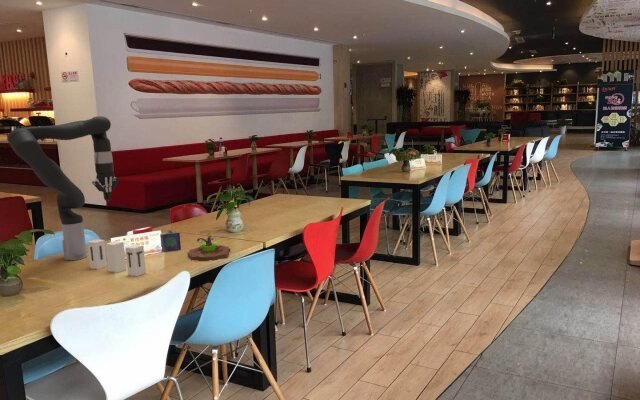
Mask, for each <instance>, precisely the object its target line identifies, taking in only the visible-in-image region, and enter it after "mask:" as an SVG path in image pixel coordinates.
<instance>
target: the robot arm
mask: <svg viewBox="0 0 640 400" xmlns="http://www.w3.org/2000/svg"><path fill="white" fill-rule="evenodd" d="M111 126H112V123H111V121H110V119H109V118H107V117H106V116H102V115H101V116H99V115H98V116H93V117H91V118H89V119H85V120H84V119H83V120H78V121H77V120H75V121H73V122H72V121H70V122H67V123H62V124H56V125H46V126H45V125H44V126H43V125H41V126H32V127H31V126H30V127H29V126H28V127H26V126H25V127H21V128H20V127H19V128H15V129H13V130H11V131H9V133H8V134H7V138H6V139H7V143H8V144H9V146H10V147H11V149H12V151H13V152H14V153H15V154H16V155H17V156H18V157H20V159H22V160H23V161H24V162H25V163H26V164H28V165H29V167H30V168H31V170H32V171H33V172H34V174H35V175H36V177H38V179H39V180H40V181H41V182H42V183H43V184H44V185H45V186H46V187H48V188H51V189H52V190H55V191H57V193H56V204H57V210H58V215H59V216H58V217H59V219H60V223H61V229H62V237H63V239H62V240H61V241H62V251H63V257H64V258H63V259H64V261H77V260H82V259H85V258H87V257H88V254H87V253H88V251H87V245H86V243H87V242H86V235H85V227H84V219H83V216H82V214H78V213H76V212H74V211H73V210H72V209H80V208H82V207H83V206H84V205H85V202H86V199H85V195H84V192H83V191H82V190H81V189H80V188H79V187H78V185H76V184H75V183H74V182H72V180H71V179H70V178H69V177H68V176H67V174H65V172H64V171H63V169H62V168H61V167H60V166H59V165H58V164H57V163H56V162H55V161H54V160H53V159H51V158H50V157H49V156H47V155H46V154H45V151H44V150H43V149H42V147H41V145H40V143H39V142H38V141H39V140H58V141H72V140H76V139H79V138H84V137H86V136H91V138H92V139H91V140H92V142H93V143H92V144H93V153H94V154H93V158H94V168H95V174H96V177H95V180H92V182H91V184H92V185H94V187H95V188H96V189H97V190H98V192H101V193H102V194H103V199H104V201H107V202H109V201H111V199H112V191H114V190H115V188H116V187H117V185H118V183H119V181H120V179H119V178H118V177H116V176H115V174H114V172H115V171H114V170H115V169H114V160H113V154H112V147H111V146H112V145H111V141H110V139H109V137H108V136H107V132H108V131H109V130H110V129H111Z"/></svg>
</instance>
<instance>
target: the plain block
mask: <svg viewBox="0 0 640 400" xmlns="http://www.w3.org/2000/svg"><path fill="white" fill-rule="evenodd" d="M105 248H106V258H107V267H108V268H107V269H108V272H109V273H116V274H117V273H119V272H122V271H127V261H126V251H125V244H124V241H118V240H115V241H110V242H107V243H105Z"/></svg>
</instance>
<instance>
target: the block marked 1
mask: <svg viewBox="0 0 640 400" xmlns="http://www.w3.org/2000/svg"><path fill="white" fill-rule="evenodd" d="M86 243H87V245H86V247H87V253H88V254H87V255H88V261H89V268H90V269H93V270H101V269H103V268H106V267H108V261H107V252H106V241H105V239H98V238H96V239H92V240H89V241H87V242H86Z"/></svg>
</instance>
